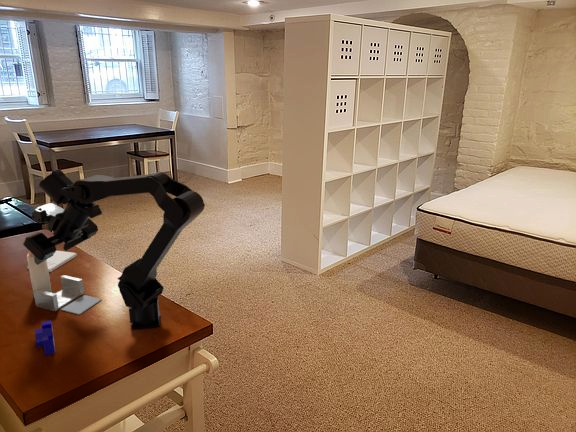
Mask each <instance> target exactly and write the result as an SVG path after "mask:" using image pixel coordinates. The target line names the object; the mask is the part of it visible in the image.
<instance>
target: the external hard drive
mask: <svg viewBox="0 0 576 432" xmlns="http://www.w3.org/2000/svg"><path fill="white" fill-rule="evenodd" d="M77 256H78V254H77V252H73V251H72V252H71V251H65V250H64V251H63V250H56V252H55V253H54V254H53V256H52V257H50V258H48V259H47V265H48V271H49V273H52V272H53V271H55V270H56V269H58V268H60V267H61V266H63V265H65V264H66V263H68V262H69V261H71V260H72V259H75V258H77ZM26 269H27V270H29V266H28V265H27V266H26Z"/></svg>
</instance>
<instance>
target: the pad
mask: <svg viewBox="0 0 576 432" xmlns="http://www.w3.org/2000/svg"><path fill="white" fill-rule="evenodd" d="M101 301H102V298H99V297H94V296H90V295H87V294H86V295H85V294H83V295H81V296H80V297H78V298H76V299H75V300H73V301H71V302H70V303H68V304H66V305H65V306H63V307H62V308H60V310H61V311H64V312H67V313H70V314H75V315H78V316H80V315H83V313H84V312H86V311H87V310H90V308H92V307H94V306H95V305H97V304H98V303H100V302H101Z"/></svg>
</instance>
